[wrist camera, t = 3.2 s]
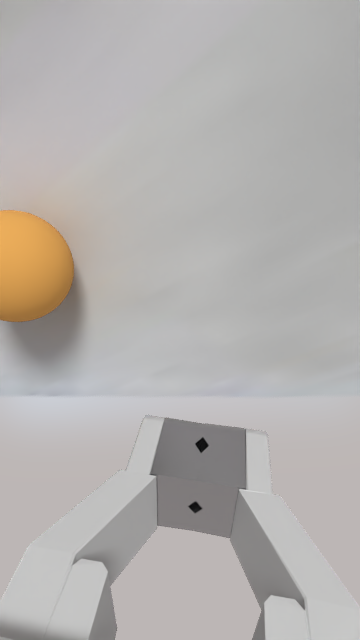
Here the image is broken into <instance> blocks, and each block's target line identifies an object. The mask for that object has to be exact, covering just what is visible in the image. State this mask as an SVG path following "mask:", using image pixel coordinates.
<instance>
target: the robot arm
mask: <svg viewBox="0 0 360 640" xmlns="http://www.w3.org/2000/svg"><path fill="white" fill-rule="evenodd" d="M157 526H165V527H171V528H178V529H185V530H192V531H197V532H202V533H207V534H212V535H217V536H222V537H227V538H230V541H231V543H232V546H233V548H234V550H235V552H236V555H237V556H238V559H239V561H240V563H241V566H242V568H243V570H244V572H245V574H246V577H247V579H248V581H249V583H250V586H251V588H252V590H253V592H254V594H255V597H256V599H257V601H258V603H259V606H260V608H261V610H262V611H261V614H260V617H259V620H258V623H257V626H256V629H255V632H254V636H253V638H252V640H360V607H359V605H358V604H357V603H356V601H355V600H354V598H353V597H352V596H351V594H350V593H349V591H348V590H347V589H346V587H345V586H344V584H343V583H342V582H341V580H340V579H339V577H338V576H337V575H336V574H335V572H334V570H333V569H332V568H331V566H330V565H329V563H328V562H327V561H326V559H325V558H324V556H323V555H322V554H321V552H320V551H319V550H318V548H317V547H316V545H315V544H314V542H313V541H312V540H311V538H310V537H309V535H308V534H307V533H306V531H305V530H304V528H303V527H302V526H301V524H300V523H299V521H298V520H297V519H296V517H295V516H294V515H293V513H292V512H291V510H290V509H289V507H288V506H287V505H286V503H285V502H284V500H283V499H282V498H281V496H280V495H276V494H273V489H272V477H271V465H270V453H269V441H268V434H267V432H266V431H260V430H252V429H244V428H238V427H229V426H221V425H214V424H202V423H196V422H190V421H184V420H178V419H171V418H163V417H157V416H150V415H146V416H145V417H144V419H143V421H142V423H141V426H140V429H139V432H138V435H137V438H136V441H135V444H134V447H133V450H132V453H131V456H130V459H129V462H128V465H127V468H126V471H123V470H119V471H118V472H116V473H115V474H114V475H113V476H112V477H110V478H109V479H108V480H107V481H106V482H104V483H103V484H102V485H101V486H100V487H98V488H97V489H96V490H95V491H94V492H93V493H91V494H90V495H89V496H88V497H86V498H85V499H84V500H83V501H81V502H80V503H79V504H78V505H77V506H76V507H74V508H73V509H72V510H71V511H70V512H68V513H67V514H66V515H65V516H63V517H62V518H61V519H60V520H59V521H57V522H56V523H55V524H54V525H53V526H51V527H50V528H49V529H48V530H47V531H46V532H44V533H43V534H42V535H41V536H40V537H38V538H37V539H36V540H35V541H33V542H32V543H31V544H30V545H29V546H28V547H27V549H26V551H25V553H24V555H23V557H22V559H21V561H20V563H19V565H18V567H17V569H16V571H15V573H14V575H13V577H12V579H11V581H10V583H9V585H8V587H7V589H6V591H5V593H4V595H3V597H2V599H1V601H0V640H115V636H116V631H117V625H116V619H115V614H114V607H113V601H112V595H111V588H110V586H111V585H112V583H113V582H114V581H115V580H116V578H117V577H118V576H119V575H120V574H121V572H122V571H123V570H124V569H125V567H126V566H127V565H128V564H129V562H130V561H131V560H132V559H133V557H134V556H135V555H136V554H137V553H138V551H139V550H140V549H141V548H142V546H143V545H144V544H145V543H146V541H147V540H148V539H149V538H150V537H151V535H152V534H153V533H154V532H155V530H156V529H157Z"/></svg>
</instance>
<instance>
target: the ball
mask: <svg viewBox="0 0 360 640" xmlns="http://www.w3.org/2000/svg"><path fill="white" fill-rule="evenodd" d="M73 276H74V264H73V258H72V254H71V251H70V249H69V247H68V245H67V243H66V241H65V240H64V238H63V237H62V235H61V234H60V233H59V232H58V231H57V230H56V229H55V228H54V227H53V226H52V225H51V224H49V223H48V222H46V221H45V220H43V219H41V218H39V217H37V216H35V215H32V214H30V213H26V212H21V211H14V210H3V211H0V320H3V321H11V322H23V321H30V320H34V319H37V318H40V317H42V316H44V315H46V314H48V313H50V312H51V311H53V310H54V309H55V308H56V307H57V306H59V305H60V304H61V302H62V301H63V300H64V299H65V297H66V296H67V294H68V292H69V290H70V288H71V285H72V281H73Z"/></svg>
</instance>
